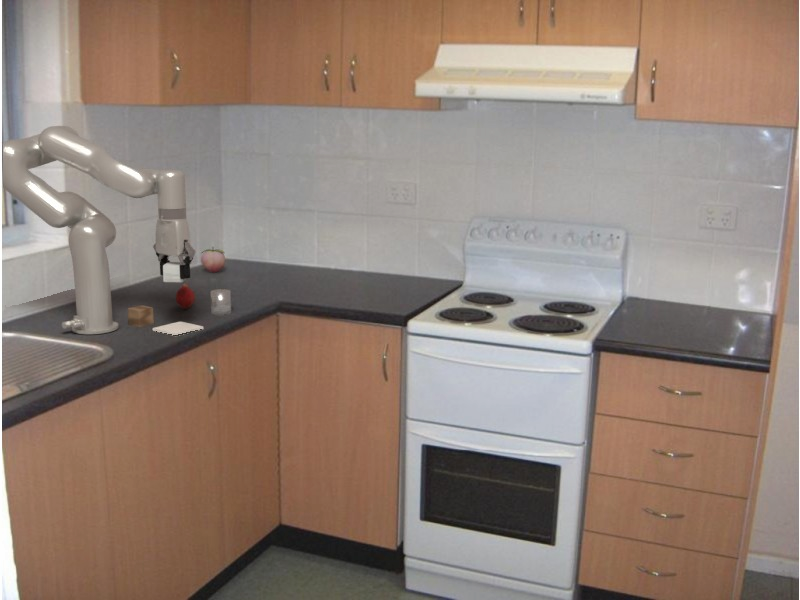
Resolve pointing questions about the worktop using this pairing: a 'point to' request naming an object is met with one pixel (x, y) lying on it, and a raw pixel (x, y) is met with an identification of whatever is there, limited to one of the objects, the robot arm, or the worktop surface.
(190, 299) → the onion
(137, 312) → the walnut block
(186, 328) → the plate
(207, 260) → the decorative fruit
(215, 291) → the tin
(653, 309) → the worktop surface
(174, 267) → the small box
